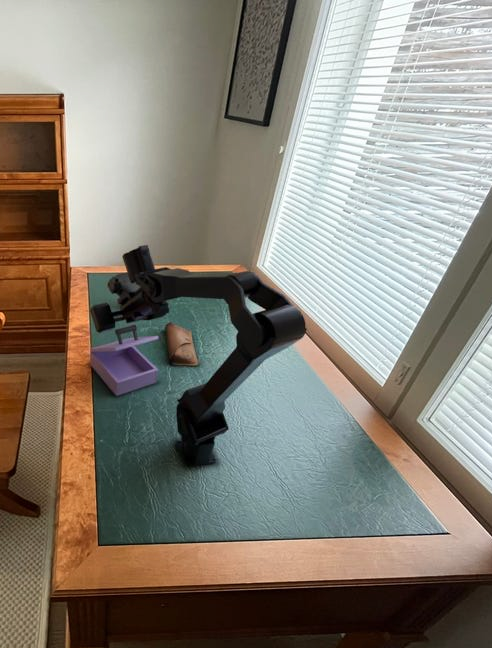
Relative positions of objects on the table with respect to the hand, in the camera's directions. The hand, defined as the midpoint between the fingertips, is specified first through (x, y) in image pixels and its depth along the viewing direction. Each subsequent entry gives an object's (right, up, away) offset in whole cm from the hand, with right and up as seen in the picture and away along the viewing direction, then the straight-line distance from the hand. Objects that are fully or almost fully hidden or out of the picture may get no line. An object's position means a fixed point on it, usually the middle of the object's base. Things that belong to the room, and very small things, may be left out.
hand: (115, 321), depth 98 cm
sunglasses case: (+20, -6, +15) cm, 26 cm away
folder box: (+2, -14, +4) cm, 14 cm away
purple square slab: (+2, -6, 0) cm, 7 cm away
